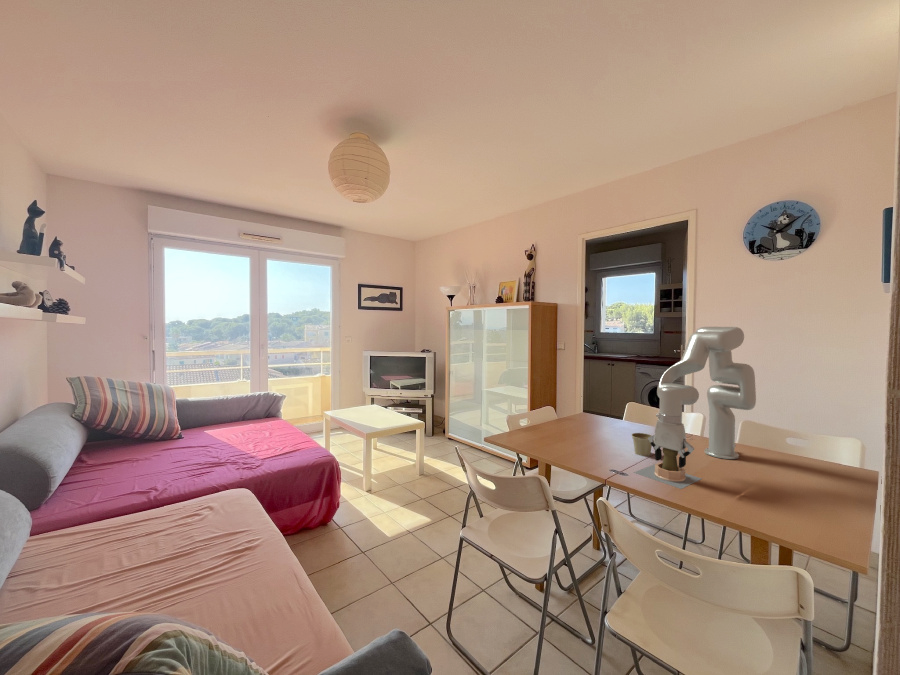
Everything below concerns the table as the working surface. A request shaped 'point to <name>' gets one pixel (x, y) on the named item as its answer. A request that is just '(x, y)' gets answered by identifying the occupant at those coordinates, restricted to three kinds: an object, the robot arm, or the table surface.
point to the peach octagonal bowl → (670, 473)
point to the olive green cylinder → (670, 460)
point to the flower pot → (642, 444)
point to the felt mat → (650, 473)
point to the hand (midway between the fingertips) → (669, 463)
